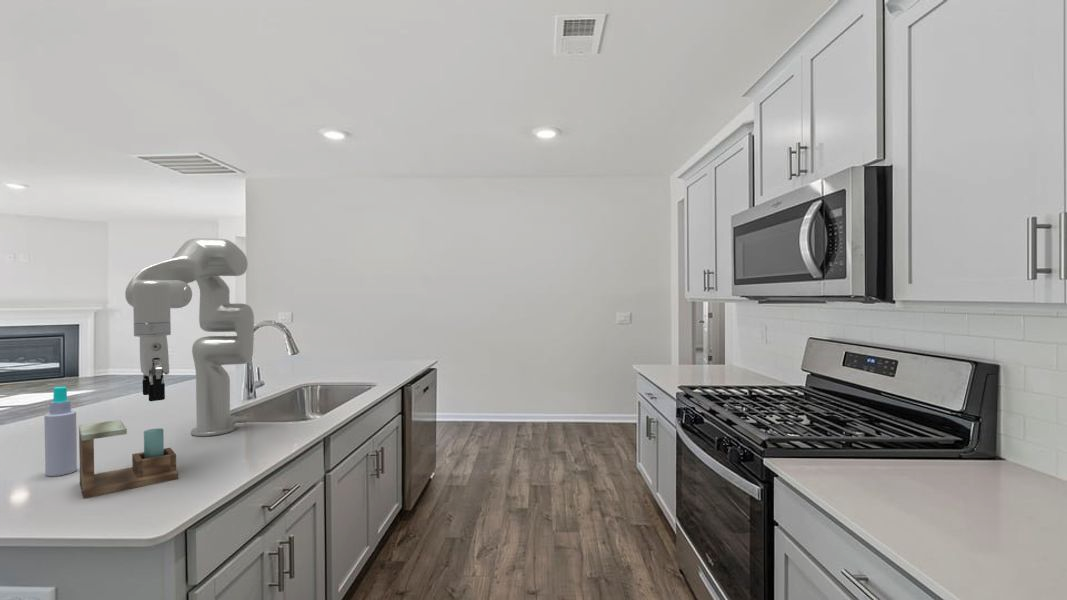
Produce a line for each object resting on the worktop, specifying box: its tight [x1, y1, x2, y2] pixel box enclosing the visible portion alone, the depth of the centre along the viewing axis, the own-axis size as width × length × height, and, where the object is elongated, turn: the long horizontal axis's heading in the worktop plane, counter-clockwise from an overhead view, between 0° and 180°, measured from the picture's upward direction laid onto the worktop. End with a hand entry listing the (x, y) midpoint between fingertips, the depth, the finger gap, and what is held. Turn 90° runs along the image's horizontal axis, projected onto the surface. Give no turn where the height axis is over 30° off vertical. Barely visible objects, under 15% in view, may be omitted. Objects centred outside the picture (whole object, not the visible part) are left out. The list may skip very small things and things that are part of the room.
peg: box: [143, 428, 165, 459], centre depth 132 cm, size 4×4×10 cm
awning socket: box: [78, 419, 179, 499], centre depth 129 cm, size 18×13×14 cm
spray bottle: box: [44, 386, 78, 477], centre depth 134 cm, size 6×6×22 cm
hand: (153, 397), depth 132 cm, fingers open, 9 cm apart
